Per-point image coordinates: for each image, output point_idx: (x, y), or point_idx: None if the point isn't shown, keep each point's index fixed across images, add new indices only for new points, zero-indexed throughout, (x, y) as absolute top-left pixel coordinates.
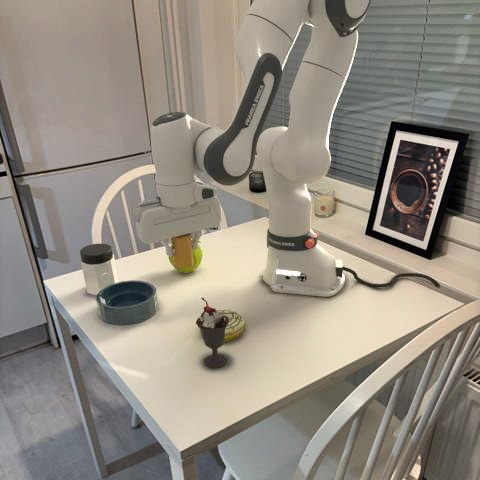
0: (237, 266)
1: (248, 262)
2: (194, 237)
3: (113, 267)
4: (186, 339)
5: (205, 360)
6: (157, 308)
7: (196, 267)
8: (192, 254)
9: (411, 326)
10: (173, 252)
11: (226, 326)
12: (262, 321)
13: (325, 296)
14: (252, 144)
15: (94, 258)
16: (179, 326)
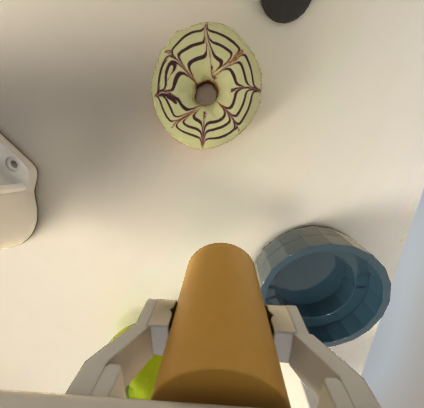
0: (61, 293)
1: (36, 294)
2: (133, 363)
3: (295, 392)
4: (281, 120)
5: (304, 4)
6: (269, 245)
7: (133, 324)
8: (186, 279)
9: None
10: (279, 315)
11: (216, 40)
12: (114, 77)
13: None
14: None
15: None
16: (264, 173)
